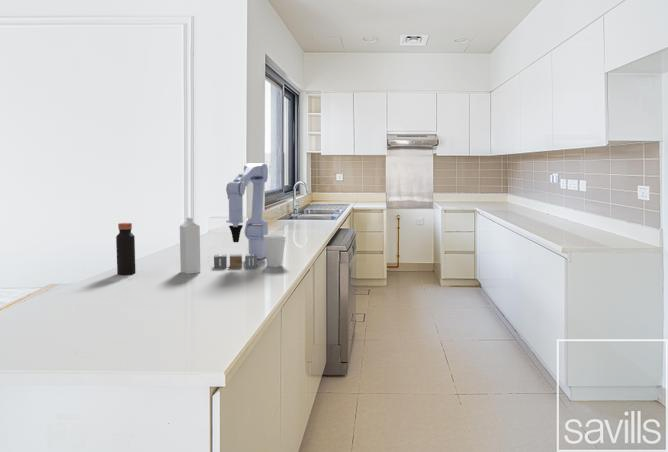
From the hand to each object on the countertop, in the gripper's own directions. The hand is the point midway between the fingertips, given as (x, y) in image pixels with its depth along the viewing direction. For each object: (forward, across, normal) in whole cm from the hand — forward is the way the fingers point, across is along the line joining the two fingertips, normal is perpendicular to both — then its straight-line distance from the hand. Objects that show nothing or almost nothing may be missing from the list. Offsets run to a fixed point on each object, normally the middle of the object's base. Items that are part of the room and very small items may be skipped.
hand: (236, 242), depth 240 cm
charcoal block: (+11, 0, -7) cm, 13 cm away
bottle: (+11, +12, -42) cm, 45 cm away
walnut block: (+11, 0, 0) cm, 11 cm away
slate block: (+11, 0, +6) cm, 12 cm away
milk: (+11, +11, -18) cm, 24 cm away
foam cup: (+11, 0, +16) cm, 20 cm away
